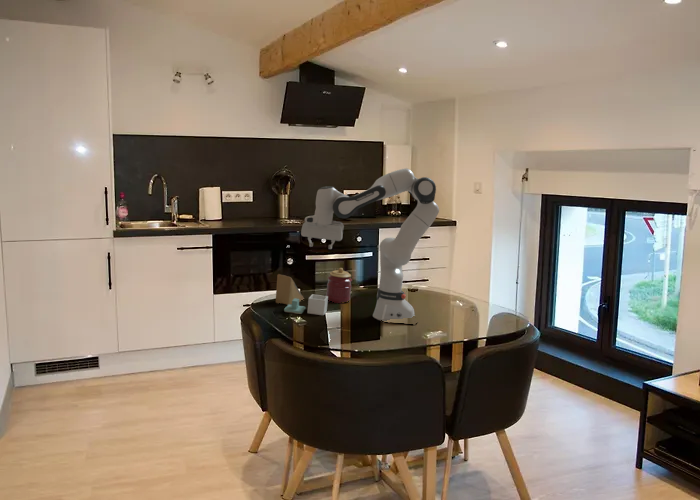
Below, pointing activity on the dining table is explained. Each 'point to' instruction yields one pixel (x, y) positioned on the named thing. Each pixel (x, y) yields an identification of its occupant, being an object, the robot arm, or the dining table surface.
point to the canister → (339, 286)
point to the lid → (295, 307)
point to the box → (317, 304)
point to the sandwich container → (286, 290)
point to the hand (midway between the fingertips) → (320, 247)
